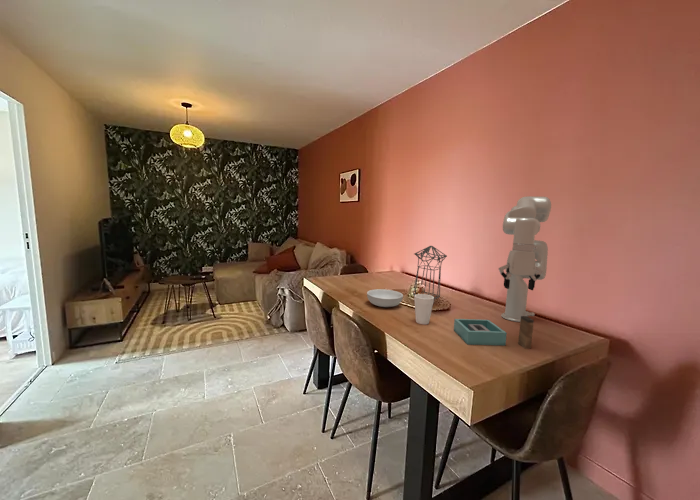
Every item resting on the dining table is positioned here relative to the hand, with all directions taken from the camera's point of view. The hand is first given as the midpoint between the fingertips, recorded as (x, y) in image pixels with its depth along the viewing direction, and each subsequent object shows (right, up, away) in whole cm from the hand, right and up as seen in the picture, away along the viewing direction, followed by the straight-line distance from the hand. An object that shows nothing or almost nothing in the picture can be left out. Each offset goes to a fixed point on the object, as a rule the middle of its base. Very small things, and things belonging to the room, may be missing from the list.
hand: (518, 288), depth 131 cm
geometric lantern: (-24, -16, +59) cm, 66 cm away
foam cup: (-35, -20, +24) cm, 47 cm away
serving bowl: (-50, -16, +51) cm, 74 cm away
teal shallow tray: (-14, -22, +7) cm, 27 cm away
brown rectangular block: (+2, -24, 0) cm, 24 cm away
